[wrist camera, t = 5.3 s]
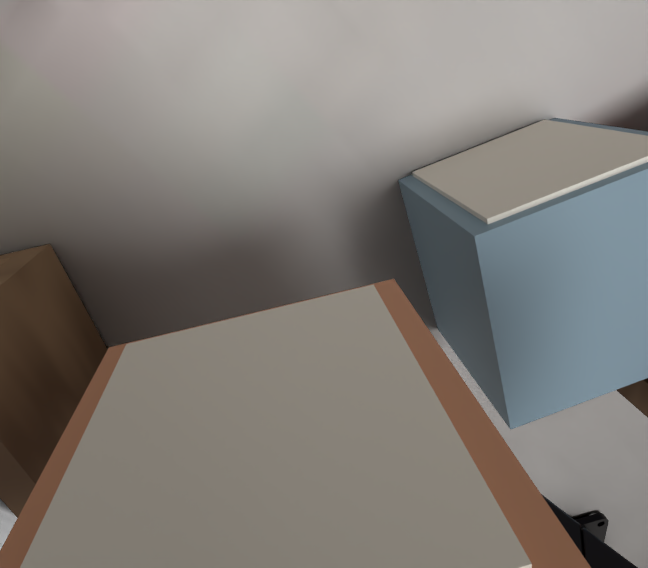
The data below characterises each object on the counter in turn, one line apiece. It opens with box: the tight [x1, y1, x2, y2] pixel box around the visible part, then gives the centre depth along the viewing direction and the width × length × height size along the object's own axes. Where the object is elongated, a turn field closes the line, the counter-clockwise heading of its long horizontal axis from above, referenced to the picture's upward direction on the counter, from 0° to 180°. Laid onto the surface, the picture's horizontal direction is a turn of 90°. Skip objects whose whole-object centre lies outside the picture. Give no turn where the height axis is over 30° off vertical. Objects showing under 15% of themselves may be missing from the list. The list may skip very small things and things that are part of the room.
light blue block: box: [398, 118, 648, 429], centre depth 14 cm, size 7×6×6 cm
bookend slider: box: [0, 244, 108, 518], centre depth 13 cm, size 8×4×6 cm, turn 11°
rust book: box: [0, 279, 591, 568], centre depth 8 cm, size 7×6×6 cm
